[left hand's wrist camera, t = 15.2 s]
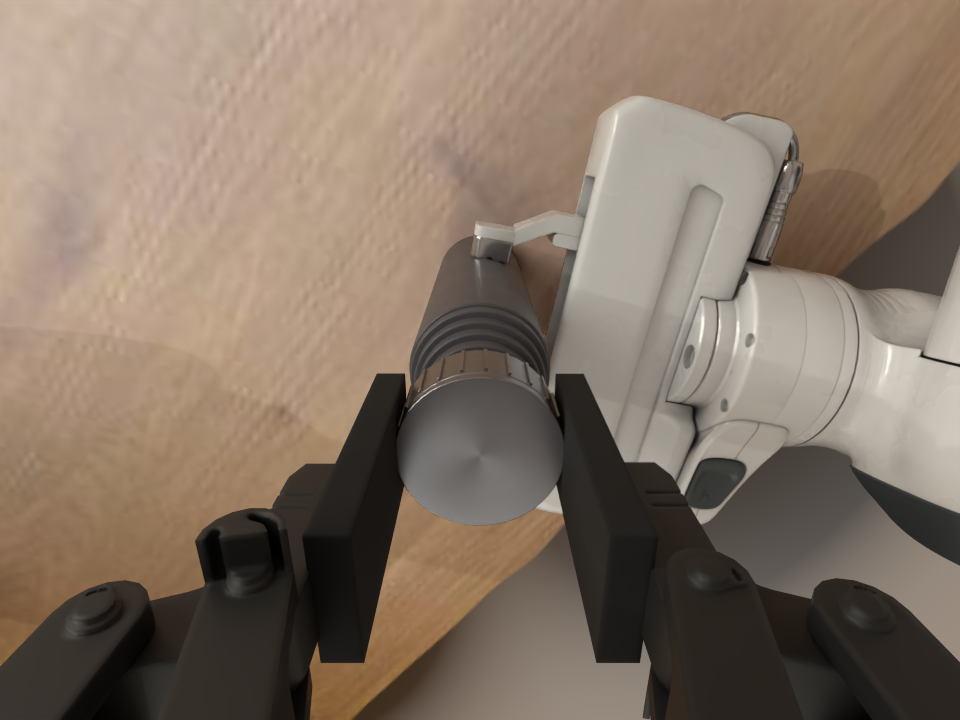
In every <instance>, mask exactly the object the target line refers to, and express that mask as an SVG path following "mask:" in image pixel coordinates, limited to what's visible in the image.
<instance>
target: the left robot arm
mask: <svg viewBox="0 0 960 720" xmlns="http://www.w3.org/2000/svg"><path fill="white" fill-rule="evenodd" d="M554 397H555V400H556V403H557V407H558V410H559V413H560V417H561V418H559V421H560V424H561V427H562V431H563V435H564V453H563V468H562V473H561V476H560V478H559V481H558V482H557V484H556V486H557V490H558V494H559V499H560V503H561V508H562V512H563V517H564V521H565V525H566V530H567V534H568V539H569V543H570V547H571V552H572V556H573V561H574V565H575V570H576V574H577V579H578V583H579V587H580V592H581V596H582V601H583V605H584V609H585V614H586V618H587V623H588V627H589V632H590V636H591V641H592V645H593V649H594V654H595V658H596V662H597V663H640V658H641V651H642V644H643V640H644V643H645V646H646V649H647V652H648V655H649V658H650V661H651V668H650V674H649V680H648V686H647V692H646V699H645V705H644V712H643V718H646V719H650V718H651V720H960V662H959V661H958V660H957V659H956V658H955V657H954V656H953V655H952V654H951V653H950V652H949V651H948V650H947V649H946V648H945V647H944V646H943V645H942V644H941V643H940V641H939V640H938V639H937V638H936V637H935V636H934V635H933V634H932V633H931V632H930V631H929V630H928V629H927V628H926V627H925V626H924V625H923V624H922V623H921V622H920V621H919V620H918V619H917V618H916V617H915V616H914V615H913V614H912V613H911V612H910V611H909V610H908V609H907V608H905V607H904V606H903V605H902V604H901V603H899V602H898V601H897V600H896V599H894V598H893V597H891V596H890V595H888V594H886V593H884V592H882V591H880V590H879V589H877V588H875V587H872V586H869V585H866V584H863V583H860V582H857V581H854V580H846V579H837V578H835V579H830V580H826V581H822V582H821V583H820V584H819V585H818V586H817V587H816V588H815V589H814V592H813V595H812V599H809V598H804V597H800V596H796V595H792V594H788V593H783V592H779V591H775V590H771V589H768V588H765V587H762V586H759V585H757V584H755V582H754V581H753V579H752V577H751V576H750V574H749V573H748V571H747V570H746V569H745V568H743V567H742V566H741V565H740V564H739V563H738V562H736V561H735V560H734V559H732V558H730V557H728V556H725V555H724V554H722V553H720V552H716V550H715V548H714V546H713V545H712V543H711V541H710V540H709V538H708V536H707V535H706V533H705V531H704V529H703V528H702V526H701V524H700V523H699V521H698V519H697V518H696V516H695V514H694V512H693V511H692V509H691V507H689V506H688V502H687V501H686V499H685V497H684V495H683V494H681V490H680V489H679V487H678V485H677V483H676V482H675V480H674V478H673V477H672V475H671V474H669V473H668V472H667V471H665V470H664V469H663V468H662V467H660V466H659V465H658V464H656V463H655V462H624V460H623V458H622V456H621V454H620V451H619V449H618V447H617V445H616V443H615V441H614V438H613V436H612V434H611V432H610V430H609V428H608V425H607V423H606V421H605V419H604V417H603V415H602V412H601V410H600V408H599V406H598V404H597V402H596V399H595V397H594V395H593V393H592V391H591V388H590V386H589V384H588V382H587V380H586V378H585V375H584V374H556V377H555V395H554ZM405 402H406V384H405V374H377V375H376V377H375V379H374V381H373V383H372V385H371V388H370V390H369V392H368V394H367V396H366V399H365V401H364V403H363V405H362V407H361V409H360V412H359V414H358V416H357V418H356V420H355V422H354V425H353V427H352V429H351V431H350V433H349V435H348V438H347V440H346V442H345V444H344V446H343V448H342V451H341V453H340V455H339V457H338V459H337V462H336V464H305V465H304V466H303V467H301V468H300V469H299V470H298V471H296V472H295V473H294V474H292V475H291V476H290V477H289V478H288V480H287V482H286V483H285V485H284V487H283V488H282V490H281V492H280V496H278V497H277V499H276V500H275V502H274V504H273V508H272V509H266V508H249V509H245V510H240V511H236V512H232V513H230V514H228V515H225V516H223V517H221V518H219V519H216V520H215V521H214V522H212V523H211V524H210V525H208V526H207V527H206V528H204V529H203V530H202V532H201V533H200V534H199V536H198V537H197V539H196V540H195V543H196V547H197V551H198V555H199V559H200V563H201V568H202V572H203V576H204V580H205V586H204V587H202V588H199V589H196V590H193V591H190V592H186V593H182V594H178V595H174V596H169V597H165V598H161V599H157V600H152V601H150V600H149V596H148V593H147V590H146V589H145V588H144V587H143V586H141V585H140V584H139V583H136V582H131V581H126V580H125V581H116V582H107V583H104V584H101V585H98V586H95V587H92V588H89V589H87V590H85V591H83V592H81V593H80V594H78V595H76V596H74V597H72V598H70V599H69V600H67V601H66V602H65V603H64V604H62V605H61V606H60V607H59V608H58V609H56V610H55V611H54V612H53V613H52V614H51V615H50V616H49V617H48V618H47V619H46V620H45V621H44V622H43V623H42V624H41V625H40V626H39V627H38V628H37V629H36V630H35V631H34V632H33V633H32V634H31V635H30V636H29V637H28V638H27V639H26V640H25V641H24V642H23V644H22V645H21V646H20V647H19V648H18V649H17V650H16V651H15V652H14V653H13V654H12V655H11V656H10V657H9V658H8V659H7V660H6V661H5V662H4V663H3V664H2V665H1V666H0V720H309V719H310V708H311V696H312V681H311V674H310V668H309V666H310V663H311V660H312V657H313V654H314V650H315V647H316V644H317V641H318V647H319V654H320V661H321V663H364V661H365V657H366V652H367V648H368V643H369V639H370V634H371V630H372V626H373V621H374V617H375V612H376V608H377V603H378V599H379V595H380V590H381V586H382V581H383V577H384V572H385V568H386V564H387V559H388V555H389V550H390V546H391V541H392V537H393V532H394V528H395V524H396V519H397V515H398V510H399V506H400V501H401V497H402V493H403V488H404V484H403V482H402V480H401V478H400V476H399V473H398V459H397V444H396V435H397V432H398V425H399V422H400V418H401V415H402V412H403V408H404V405H405Z"/></svg>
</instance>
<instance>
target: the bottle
mask: <svg viewBox="0 0 960 720" xmlns="http://www.w3.org/2000/svg"><path fill="white" fill-rule="evenodd" d="M472 242H473V236H472V237H468V238H465V239H463V240H461V241H459V242H458V243H456V244H455V245H454V246H453V247H451V248H450V250H449V251H448V252H447V254H446V255H445V257H444V259H443V261H442V264H441V267H440V270H439V273H438V276H437V279H436V281H435V284H434V287H433V290H432V293H431V296H430V299H429V302H428V305H427V308H426V311H425V314H424V317H423V320H422V322H421V325H420V328H419V331H418V334H417V337H416V340H415V343H414V346H413V349H412V353H411V357H410V380H411V384H413V385H414V384H415V382H416V381H417V379H418V378H419V377H420V376H421V375H422V373H423V370H424V369H425V368H426V369H428V368H429V367H431V366H432V365H433V364H435V363H436V362H438V361H440V360H441V357H444V358H445V357H448V356H451V355H453V354H456V353H461V351H462V350H465V351H472V350H484V349H487V350H488V351H495V352H500V353H503V354H506V353H509V355H510V356H512V357H514V358H517V359H518V360H520V361H522V362H524V363H525V362H527V363H528V364H529V367H531V368H532V369H533V370H534V371H535V372H536V373H537V374H538V375H539V376H543V377H544V380H545V383H546V385H547V387H549V380H550V370H551V367H550V357H549V352H548V349H547V346H546V343H545V340H544V337H543V334H542V331H541V328H540V325H539V322H538V319H537V317H536V314H535V311H534V308H533V305H532V302H531V299H530V296H529V293H528V290H527V287H526V284H525V281H524V278H523V275H522V272H521V269H520V267H519V264H518V261H517V259H516V257H515V255H514V253H513V252H512V251H511V254H510V259H509V263H508V264H507V263H502V262H497V261H494V260H493V259H492V258H491V257H489V258H487V259H480V258H476V257H473V256H471V248H472Z"/></svg>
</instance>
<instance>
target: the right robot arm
mask: <svg viewBox="0 0 960 720" xmlns="http://www.w3.org/2000/svg"><path fill="white" fill-rule="evenodd" d="M787 150H788V160H784V158H785V156H786V153H787ZM798 157H799V144H798V140H797V137H796V135H795V132H794V131H793V129H792V127H791V126H789V125H788V124H787V123H786V122H784V121H782V120H780V119H778V118H774V117H769V116H764V115H759V114H755V113H750V112H739V113H733V114H731V115H728V116H726V117H724V118H722V119H721V120H720V119H718V118H715V117H713V116H710V115H708V114H705V113H702V112H699V111H697V110H694V109H691V108H688V107H685V106H682V105H679V104H675V103H672V102H668V101H664V100H661V99H657V98H652V97H648V96H630V97H627V98H624V99H622V100H621V101H619V102H617V103H615V104H614V105H612V106H611V107H610V108H608V109H607V110H605V111H604V112H603V113H602V114H601V115H600V117H599V119H598V122H597V126H596V130H595V134H594V138H593V142H592V146H591V150H590V155H589V159H588V163H587V167H586V171H585V176H584V180H583V184H582V188H581V192H580V196H579V201H578V205H577V209H576V213H575V214H573V213H567V212H562V211H556V210H550V211H548V212H545V213H542V214H540V215H537V216H534V217H532V218H529V219H526V220H524V221H521V222H518V223H516V224H514V225H513V227H512V226H506V225H501V224H495V223H490V222H485V221H476V225H475V231H474V236H473V242H472V248H471V256H473V257H476V258H480V259H487V258H489V257H491V258H492V259H493V260H494V261H497V262H502V263H507V264H508V263H509V259H510V254H511V250H512V245H513V246H516V245H519V244H522V243H525V242H528V241H531V240H534V239H537V238H540V237H543V236H546V235H547V237H548V239H549V240H550V241H551V243H552V244H553V245H554V246H556V247H561V248H566V249H567V251H566V255H565V259H564V263H563V268H562V272H561V276H560V280H559V284H558V288H557V293H556V297H555V301H554V305H553V309H552V314H551V318H550V322H549V326H548V330H547V334H546V339H545V343H546V346H547V349H548V352H549V357H550V367H551V370H550V380H549V387H548V389H549V390H550V392H551V393H552V392H553V394H554V395H555V377H556V374H584V375H585V378H586V380H587V382H588V384H589V386H590V388H591V391H592V393H593V395H594V397H595V399H596V402H597V404H598V406H599V408H600V410H601V412H602V415H603V417H604V419H605V421H606V423H607V425H608V428H609V430H610V432H611V434H612V436H613V438H614V441H615V443H616V445H617V447H618V449H619V451H620V454H621V456H622V458H623V460H624V462H655V463H656V464H658V465H659V466H660V467H662V468H663V469H664V470H665V471H667V472H668V473H669V474H671V475H672V477H673V478H674V480H675V482H676V483H677V485H678V487H679V489H680V490H681V494H683V495H684V497H685V499H686V501H687V502H688V506H689V507H691V509H692V511H693V512H694V514H695V516H696V518H697V519H698V521H699V523H700V524H704V523H706V522H708V521H710V520H711V519H712V518H713V517H714V516H715V515H716V514H717V513H718V512H719V511H720V509H721V508H722V507H723V506H724V505H725V503H726V502H727V501H728V500H729V499H730V498H731V496H732V495H733V494H734V493H735V492H736V491H737V490H738V488H739V487H740V486H741V485H742V484H743V483H744V482H745V481H746V480H747V479H748V478H749V477H750V476H751V475H752V474H753V472H755V471H756V470H757V469H758V468H759V467H760V466H761V465H762V464H763V463H764V462H765V461H766V460H767V459H768V458H770V457H771V456H772V455H773V454H774V453H776V452H777V451H778V450H779V449H780V448H781V447H798V446H821V447H827V448H831V449H834V450H836V451H838V452H840V453H842V454H844V455H847V456H849V457H850V458H851V460H852V464H851V465H850V467H851V469H852V471H853V472H854V474H855V476H856V477H857V478H858V480H859V481H860V483H861V484H862V485H863V487H864V488H865V489H866V490H867V491H868V493H869V494H870V495H871V496H872V497H873V498H874V499H875V501H876V502H877V503H878V504H879V505H880V507H881V508H882V509H883V510H884V511H885V512H886V513H887V514H888V516H889V517H890V518H891V519H892V520H893V521H894V522H895V523H896V524H897V525H898V526H899V527H900V528H901V529H902V530H903V531H905V532H906V533H907V534H908V535H910V536H911V537H912V538H913V539H915V540H916V541H918V542H919V543H921V544H922V545H924V546H925V547H927V548H928V549H930V550H932V551H933V552H935V553H937V554H939V555H940V556H942V557H944V558H946V559H948V560H950V561H952V562H954V563H956V564H958V565H960V246H959V249H958V252H957V255H956V258H955V261H954V264H953V267H952V270H951V273H950V276H949V279H948V282H947V285H946V288H945V291H944V294H943V296H937V295H933V294H928V293H923V292H918V291H913V290H906V289H900V288H884V289H875V290H862V289H859V288H856V287H854V286H852V285H850V284H849V283H847V282H845V281H843V280H841V279H839V278H836V277H834V276H830V275H827V274H822V273H817V272H812V271H806V270H801V269H795V268H790V267H785V266H779V265H774V264H771V263H770V260H771V257H772V255H773V252H774V249H775V247H776V244H777V241H778V239H779V236H780V234H781V230H782V227H783V222H784V219H785V218H784V216H785V215H786V210H787V208H788V204H789V203H790V200H791V198H792V195H793V194H795V192H796V190H797V188H798V186H799V183H800V181H801V177H802V173H803V166H804V164H803V163H802V162H798ZM536 508H537V509H539V510H542V511H546V512H551V513H557V514H563V512H562V508H561V503H560V499H559V494H558V490H557V486H555V488H554V489H553V490H552V492H551V493H550V494H549V496H548V497H547V498H546V499H545V500H544V501H543V502H542V503H541V504H539V505H538V506H537V507H536Z"/></svg>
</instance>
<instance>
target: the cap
mask: <svg viewBox="0 0 960 720" xmlns="http://www.w3.org/2000/svg"><path fill="white" fill-rule="evenodd" d="M559 418H561V417H560V413H559V410H558V407H557V403H556V400H555V397H554V394H553V392H552V393H551V392H550V390H549V389H548V387H547V385H546V383H545V380H544V377H543V376H539V375H538V374H537V373H536V372H535V371H534V370H533V369H532V368H531V367H529V364H528V363H527V362H525V363H524V362H522V361H520V360H518V359H517V358H514V357H512V356H510V355H509V353H506V354H503V353H500V352H495V351H488V350H487V349H484V350H472V351H465V350H462V351H461V353H456V354H453V355H451V356H448V357H445V358H444V357H441V360H440V361H438V362H436V363H435V364H433V365H432V366H431V367H429V368H428V369H426V368H425V369H424V370H423V373H422V375H421V376H420V377H419V378H418V379H417V381H416V382H415V384H414V385H413V384H411V386H410V389H409V393H408V396H407V400H406V402H405V405H404V408H403V412H402V415H401V418H400V422H399V425H398V432H397V435H396V444H397V459H398V473H399V476H400V478H401V480H402V482H403V484H404V486H405V487H406V489H407V490H408V492H409V493H410V494H411V495H412V497H413V498H414V499H415V500H416V501H417V502H418V503H420V504H421V505H422V506H423V507H424V508H426V509H427V510H429V511H430V512H432V513H434V514H435V515H438V516H440V517H442V518H444V519H447V520H450V521H453V522H457V523H461V524H467V525H493V524H499V523H504V522H507V521H510V520H513V519H516V518H518V517H520V516H523V515H525V514H526V513H528V512H530V511H531V510H533V509H534V508H536V507H537V506H538V505H539V504H541V503H542V502H543V501H544V500H545V499H546V498H547V497H548V496H549V494H550V493H551V492H552V490H553V489H554V488H555V486H556V484H557V482H558V481H559V478H560V476H561V473H562V468H563V453H564V435H563V431H562V427H561V424H560V421H559Z"/></svg>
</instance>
